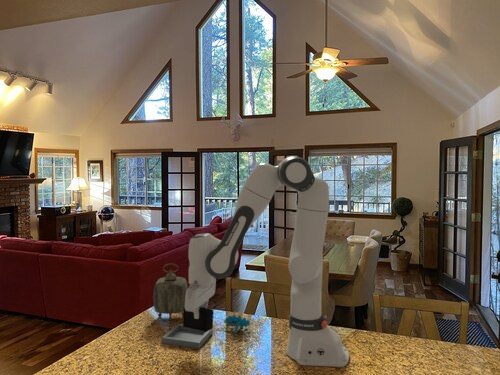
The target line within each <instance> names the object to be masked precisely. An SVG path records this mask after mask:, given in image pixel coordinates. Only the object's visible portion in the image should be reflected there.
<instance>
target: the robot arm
mask: <svg viewBox="0 0 500 375" xmlns="http://www.w3.org/2000/svg"><path fill="white" fill-rule="evenodd" d="M281 186H285V187H288V188H289V189H290V188H291V189H293V190H296V191H297V197H298V198H297V207H296V213H295V214H296V215H295V221H294V222H295V224H294V228H293V229H294V231H293V235H292V241H291V246H290V251H289V259H288V273H289V274H290V276H291V277H290V278H291V287H290V312H289V317H288V326H289V328H288V329H289V335H288V341H287V345H286V349H285V353H286V355H287V356H288V357H289V358H291V359H293V360H295V361H296V363H297V364H298V365H301V366H313V367H316V366H317V367H333V368H334V367H335V368H337V367H338V368H343V367H345V366H346V365H347V364H348V363H349V359H350V353H349V350H348V348H347V347H345V346H343V341H342V338H341V336H340V335H339V333H337V332H336V331H334V330H333V329H332V328H331V327H329V326H328V318H327V315H323V314H322V290H323V289H322V288H323V270H324V269H323V268H324V264H323V262H324V256H323V254H324V253H323V251H324V245H325V240H326V239H325V238H326V232H327V224H328V216H329V206H330V190H329V188H330V187H329V184H328V183H327V181H325V180H324V179H322V178H319V177H315V175H314V173H313V171H312V168H311V166H310V164H309V162H308V161H307V160H306V159H305V158H303V157H300V156H295V155H291V156H288V157H285V158H284V159H283V160H281V161H280V162H278V163H276V165H272V164H270V163H265V162H260V163H259V164H256V166H255V167H254V169H252V171H251V172H250V174H249V175H248V177H247V178H246V180H245V182H244V183H243V186H242V187H241V190H240V192H239V194H238V197H237V202H236V205H235V209H234V212H233V215H232V218H231V221H230V224H229V226H228V228H226V231H225V233H224V235H223V237H222V239H219V238H217V237H215V236H214V235H212V234H211V233H208V232H203V233H198V234H195V235H193V236H192V237H191V238H190V239H189V244H188V260H189V261H188V262H189V266H188V284H189V286H188V289H187V290H186V294H185V310H186V311H190V312H193V313H194V318H195V319H199V307H203V308H208V304H209V299H211V298H212V297H213V296H214V295H215V293H216V285H217V282H216V281H217V279H220V280H221V279H222V280H223V279H227V278H229V277H230V276H231V275H232V274H233V272H234V270H235V266H236V265H237V263H238V259H239V248H240V246H241V245H242V242H243V240H244V238H245V236H246V234H247V232H248V231H249V230H250V228H251V226H252V225H253V224H254V223H255V222H256V221H257V220H258V218H260V217H261V215H262V214H263V213H264V212H265V210H266V209H267V208H268V206H269V203H270V202H271V201H272V198H273V196H274V194H275V192H276V191H277V189H279V188H280V187H281Z"/></svg>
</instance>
